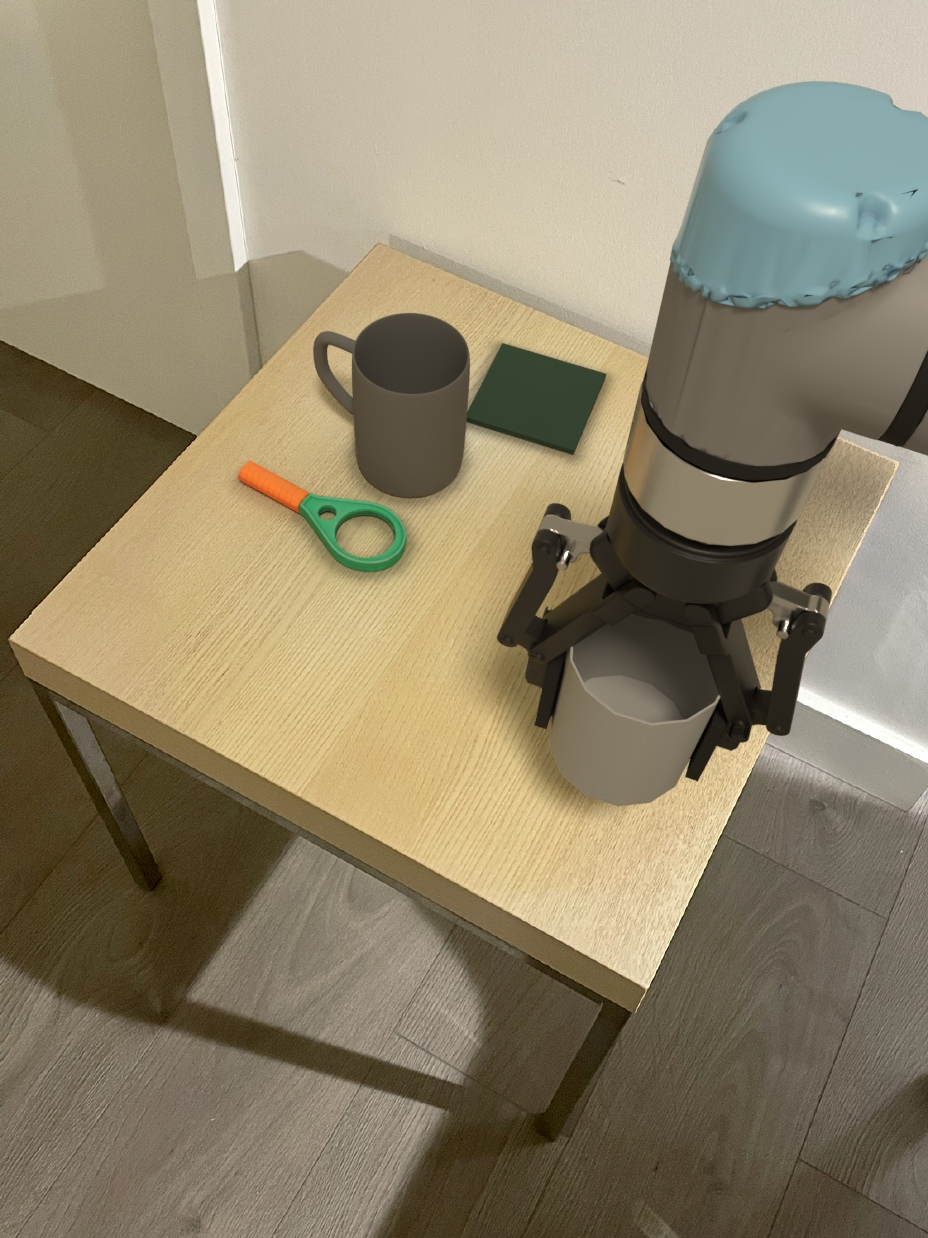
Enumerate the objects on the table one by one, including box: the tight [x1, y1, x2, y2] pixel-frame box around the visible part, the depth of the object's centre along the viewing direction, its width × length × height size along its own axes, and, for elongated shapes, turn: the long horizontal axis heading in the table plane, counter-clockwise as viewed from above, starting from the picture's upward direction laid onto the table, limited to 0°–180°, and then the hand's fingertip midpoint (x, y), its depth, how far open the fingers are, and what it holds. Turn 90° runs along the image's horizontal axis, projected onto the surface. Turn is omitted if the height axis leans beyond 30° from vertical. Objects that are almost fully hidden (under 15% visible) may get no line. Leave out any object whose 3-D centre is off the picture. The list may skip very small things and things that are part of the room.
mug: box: [312, 312, 471, 499], centre depth 86 cm, size 14×9×12 cm
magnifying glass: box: [237, 460, 407, 573], centre depth 86 cm, size 15×6×2 cm, turn 59°
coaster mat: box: [466, 342, 607, 456], centre depth 95 cm, size 10×10×1 cm
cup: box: [548, 614, 720, 807], centre depth 59 cm, size 8×8×10 cm
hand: (621, 733), depth 63 cm, fingers closed on cup, 8 cm apart
